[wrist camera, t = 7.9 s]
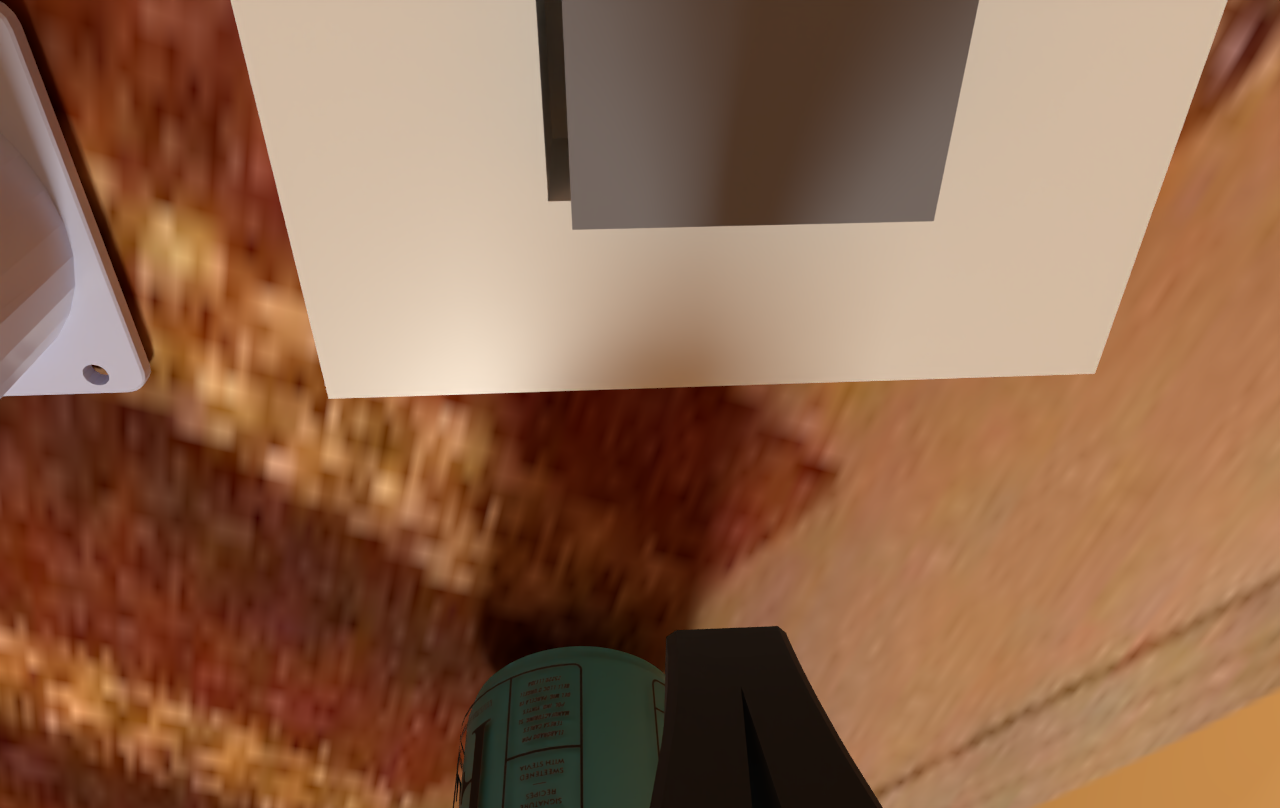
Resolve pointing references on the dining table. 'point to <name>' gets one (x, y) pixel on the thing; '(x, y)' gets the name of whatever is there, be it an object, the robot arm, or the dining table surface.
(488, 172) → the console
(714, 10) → the charcoal key
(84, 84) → the dining table surface
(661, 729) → the beverage bottle
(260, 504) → the dining table surface
